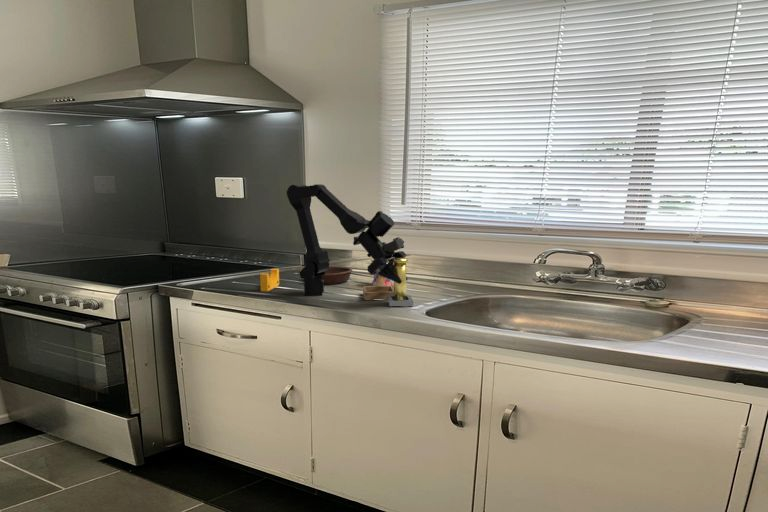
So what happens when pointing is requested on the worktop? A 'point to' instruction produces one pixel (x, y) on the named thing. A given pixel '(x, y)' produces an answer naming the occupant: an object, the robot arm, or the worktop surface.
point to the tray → (377, 292)
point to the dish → (336, 275)
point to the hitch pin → (401, 271)
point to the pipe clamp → (269, 280)
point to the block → (400, 301)
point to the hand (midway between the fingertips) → (403, 281)
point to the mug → (381, 279)
